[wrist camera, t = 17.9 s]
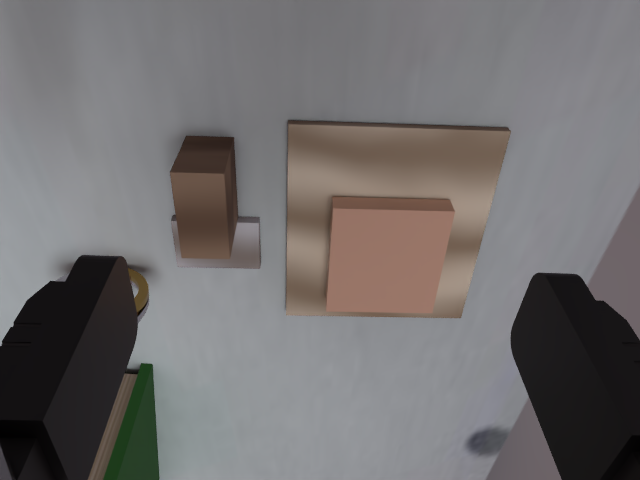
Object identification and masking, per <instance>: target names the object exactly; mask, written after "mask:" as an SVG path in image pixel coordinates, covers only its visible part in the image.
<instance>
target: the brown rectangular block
mask: <svg viewBox="0 0 640 480" xmlns="http://www.w3.org/2000/svg"><path fill="white" fill-rule="evenodd" d="M170 176H171V183H172V191H173V198H174V206H175V213H176V215H173V218H172V220H171V224H172V231H173V238H174V245H175V252H176V259H177V266H178V267H199V268H253V269H260V265H261V253H260V217H238V205H237V187H236V168H235V150H234V137H210V136H186V138H185V140H184V142H183V144H182V147H181V149H180V151H179V153H178V156H177V158H176V160H175V162H174V165H173V167H172V169H171V171H170Z"/></svg>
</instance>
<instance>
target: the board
mask: <svg viewBox="0 0 640 480" xmlns="http://www.w3.org/2000/svg"><path fill="white" fill-rule="evenodd" d="M510 133H511V131H510V130H509V128H504V127H473V126H443V125H412V124H382V123H352V122H321V121H291V120H288V193H287V287H286V315H299V316H361V317H423V318H461V316H462V312H463V308H464V304H465V301H466V297H467V293H468V290H469V286H470V282H471V278H472V275H473V271H474V267H475V263H476V260H477V256H478V252H479V249H480V245H481V241H482V237H483V234H484V230H485V226H486V222H487V219H488V215H489V211H490V208H491V204H492V200H493V196H494V193H495V189H496V185H497V181H498V178H499V174H500V170H501V167H502V163H503V159H504V155H505V152H506V148H507V144H508V140H509V137H510ZM332 197H361V198H399V199H436V200H450V201H451V203H452V206H453V208H454V210H455V214H454V219H453V223H452V228H451V232H450V237H449V241H448V246H447V250H446V255H445V259H444V263H443V268H442V272H441V277H440V281H439V286H438V290H437V295H436V299H435V303H434V308H433V312H432V313H384V312H326V299H325V297H326V282H327V267H328V252H329V237H330V222H331V207H332Z"/></svg>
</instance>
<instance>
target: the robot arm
mask: <svg viewBox="0 0 640 480" xmlns="http://www.w3.org/2000/svg"><path fill="white" fill-rule="evenodd" d="M137 328H138V317H137V310H136V305H135V300H134V295H133V291H132V286H131V281H130V276H129V271H128V267H127V263H126V260H125V259H124V257H122V256H95V255H82V256H80V257H79V258H78V259H77V261H76V262H75V264H74V266H73V268H72V270H71V272H70V273H69V275H68V277H67V279H66V281H65V282H64V281H50V282H49V283H48V284H46V285H45V286H44V287H43V288H41V289H40V290H39V291H38V292H37V293H35V294H34V295H33V296H32V297H30V298H29V299H28V300H27V301H26V303H25V305H24V306H23V308H22V310H21V311H20V313H19V314H18V316H17V318H16V319H15V321H14V326H13V327H11V328H10V329H9V331H8V332H7V334H6V336H5V337H4V339H3V341H2V346H0V480H88V478H89V475H90V472H91V469H92V466H93V463H94V461H95V458H96V455H97V452H98V449H99V446H100V443H101V440H102V437H103V435H104V432H105V429H106V426H107V423H108V420H109V417H110V414H111V411H112V409H113V406H114V403H115V400H116V397H117V394H118V391H119V388H120V385H121V382H122V380H123V377H124V374H125V371H126V368H127V365H128V362H129V359H130V356H131V354H132V351H133V348H134V345H135V341H136V336H137ZM511 349H512V354H513V357H514V360H515V362H516V365H517V367H518V370H519V372H520V375H521V377H522V380H523V383H524V385H525V388H526V390H527V393H528V395H529V398H530V400H531V403H532V405H533V408H534V410H535V413H536V415H537V418H538V421H539V423H540V426H541V428H542V431H543V433H544V436H545V438H546V441H547V443H548V446H549V448H550V451H551V453H552V456H553V458H554V461H555V463H556V466H557V469H558V471H559V474H560V476H561V479H562V480H640V340H639V339H638V337H637V335H636V334H635V332H634V331H633V329H632V328H631V326H630V325H629V323H628V322H627V320H626V319H624V318H623V317H622V316H621V315H620V314H618V313H617V312H616V311H615V310H614V309H613V308H611V307H610V306H609V305H608V304H607V303H606V302H604V301H596V300H595V299H594V297H593V295H592V294H591V292H590V291H589V289H588V287H587V286H586V284H585V282H584V281H583V279H582V278H581V277H580V276H579V275H577V274H561V273H537V274H535V275H534V276H533V277H532V279H531V281H530V283H529V286H528V288H527V291H526V293H525V296H524V298H523V301H522V303H521V306H520V308H519V311H518V313H517V316H516V318H515V321H514V323H513V326H512V330H511Z"/></svg>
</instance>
